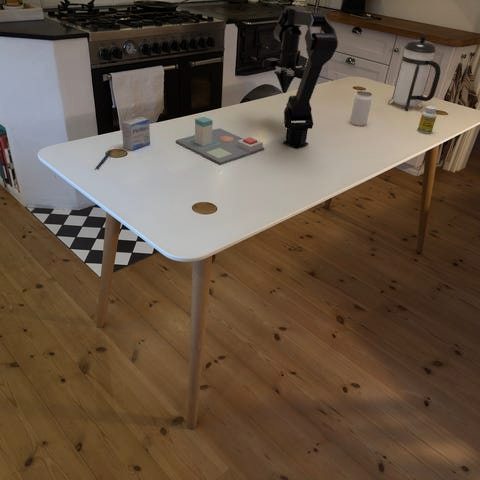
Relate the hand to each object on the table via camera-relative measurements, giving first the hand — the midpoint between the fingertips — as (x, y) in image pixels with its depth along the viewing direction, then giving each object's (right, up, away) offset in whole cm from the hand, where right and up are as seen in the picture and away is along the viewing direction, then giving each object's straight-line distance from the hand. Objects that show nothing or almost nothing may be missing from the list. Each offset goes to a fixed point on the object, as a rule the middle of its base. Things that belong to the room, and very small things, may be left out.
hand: (284, 92), depth 167 cm
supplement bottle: (+56, -11, +15) cm, 59 cm away
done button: (-13, -22, -13) cm, 28 cm away
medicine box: (-50, -23, -16) cm, 57 cm away
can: (+31, -7, +17) cm, 36 cm away
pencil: (-57, -29, -26) cm, 69 cm away
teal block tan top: (-28, -21, -13) cm, 37 cm away
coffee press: (+59, +6, +41) cm, 72 cm away
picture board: (-23, -22, -12) cm, 34 cm away
